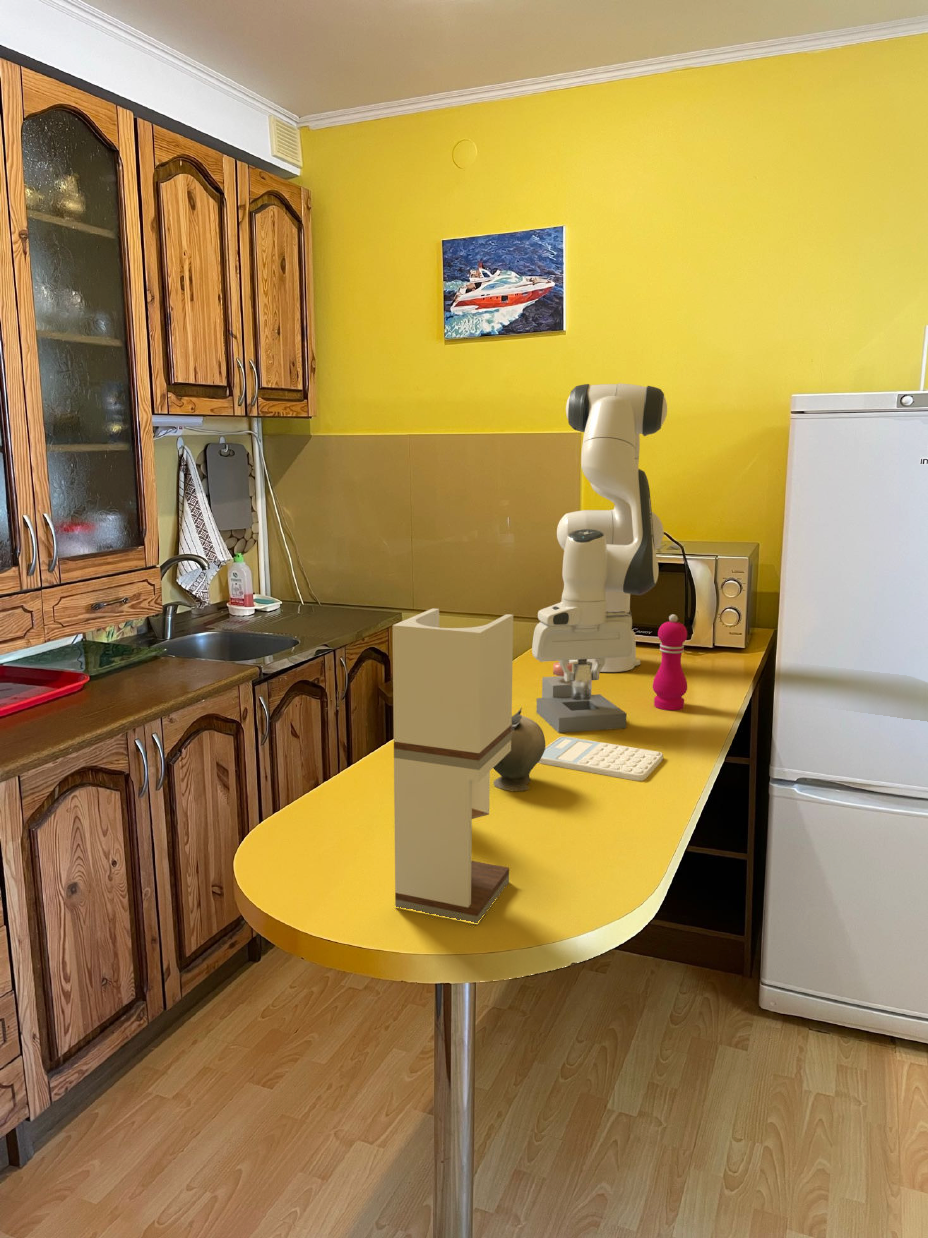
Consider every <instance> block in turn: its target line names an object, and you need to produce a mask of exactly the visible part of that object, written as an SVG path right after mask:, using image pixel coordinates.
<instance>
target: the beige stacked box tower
mask: <svg viewBox="0 0 928 1238" xmlns="http://www.w3.org/2000/svg"><path fill="white" fill-rule="evenodd" d="M513 644H514V614H510V613H509V614H507V613H506V614H504V615H502V616H501V617H499V618H497V619H495V620H493V621H491V622H489V623H487V624H484V625H479V626H472V627H440V608H431V609H427V610H426V611H424V612H421V613H419V614H416V615H413V616H411V617H409V618H407V619H406V618H405V619H404V620H402V621H399V622H398V623H397V622H396V623H395V624H393V625H392V689H393V691H392V692H393V693H392V694H393V696H392V699H393V701H392V703H393V706H392V707H393V708H392V709H393V712H392V714H393V779H394V780H393V786H394V787H393V797H394V799H393V803H394V809H393V810H394V887H395V888H394V892H395V894H394V895H395V897H394V899H395V901H394V903H395V904H394V906H396V907H399V908H400V907H401V908H406V909H413V910H416V911H422V912H425V913H429V914H436V915H439V916H445V917H449V918H456V919H457V920H460V919H461V920H466V921H471V922H474V923H478V921H479V920H480V919H481V918H482V916H483V915H484V914H485V913H486V912H487V910H488V909H489V908H490V906H491V905H492V903H493V902H494V901H495V899H496V898H497V897H498V896H499V897H500V895H501V894H502V893H501V892H503V891H504V890H505V889H504V887H505V888H506V887H507V886H508V885H509V883H510V867H507V866H503V865H497V864H491V863H486V862H480V861H474V860H472V836H473V835H472V824H473V823H472V822H473V821H472V820H475V819H478V818H481V817H484V816H485V817H486V816H489V815H490V789H491V787H490V785H491V784H490V783H491V782H490V781H491V780H490V778H491V776H490V773H491V771H492V769H494V768H493V767H494V766H496V765H497V764H498V763H499V762H500V761H501V760H502V759H503V758H504V757H505V756H506V755H507V754H508V753H509V752H510V751H511V724H512V716H513V712H512V711H513V661H514V660H513V659H514V657H513V653H514V649H513V648H514V645H513ZM506 885H507V886H506ZM503 889H504V890H503ZM502 890H503V891H502ZM500 893H501V894H500ZM499 894H500V895H499ZM499 897H498V898H499ZM498 898H497V899H498ZM497 899H496V900H497ZM495 902H496V901H495ZM495 902H494V903H495ZM492 906H493V905H492ZM492 906H491V907H492ZM490 909H491V908H490ZM490 909H489V910H490ZM489 910H488V911H489ZM487 913H488V912H487ZM487 913H486V914H487Z"/></svg>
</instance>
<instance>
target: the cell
mask: <svg viewBox="0 0 928 1238" xmlns="http://www.w3.org/2000/svg"><path fill="white" fill-rule="evenodd" d="M572 672H573V673H574V677H573V678H574V681H572V687H571V698H572V699H574V700H581V701H584V700H590V699H591V695H592V684H593V682H592V681H593V680H592V663H591V662H589V661H587V659H581V660H578V661H574V662H572Z"/></svg>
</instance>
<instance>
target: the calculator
mask: <svg viewBox="0 0 928 1238" xmlns="http://www.w3.org/2000/svg"><path fill="white" fill-rule="evenodd" d="M663 760H664V754H663V753H662V752H661V751H655V750H650V749H645V748H638V747H632V746H631V747H630V746H626V745H621V744H614V743H608V742H600V741H594V740H588V739H583V738H582V739H581V738H577V737H572V736H571V737H570V736H559V737H557V738H556V739H555V740H553V741H551V743H549V744H548V745H546V746H545V751H544V753H543V755H542V757H541V759H540V761H539V762H538V763H537V764H541V765H547V766H552V767H558V768H564V769H567V770H568V769H569V770H575V771H579V772H580V771H581V772H585V773H589V774H590V773H592V774H597V775H603V776H608V777H613V778H619V779H625V780H630V781H635V782H642V781H644V780H646V779H647V778H648V777H649V776H650V775H651V774H652V773H653V771H654V770H655V769H656V768H657V767H658V766H659V765H660V763H662V762H663Z"/></svg>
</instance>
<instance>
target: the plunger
mask: <svg viewBox="0 0 928 1238" xmlns="http://www.w3.org/2000/svg"><path fill="white" fill-rule="evenodd" d="M566 666H567V668H568V670H569V671H571V672H572V663H569V665H566ZM552 669H553V671H552V673H553V674H552V675H555V676H564V671H563V669H562V668H561V666H560V664H559V661H556V662H554V663H553V666H552Z"/></svg>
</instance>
